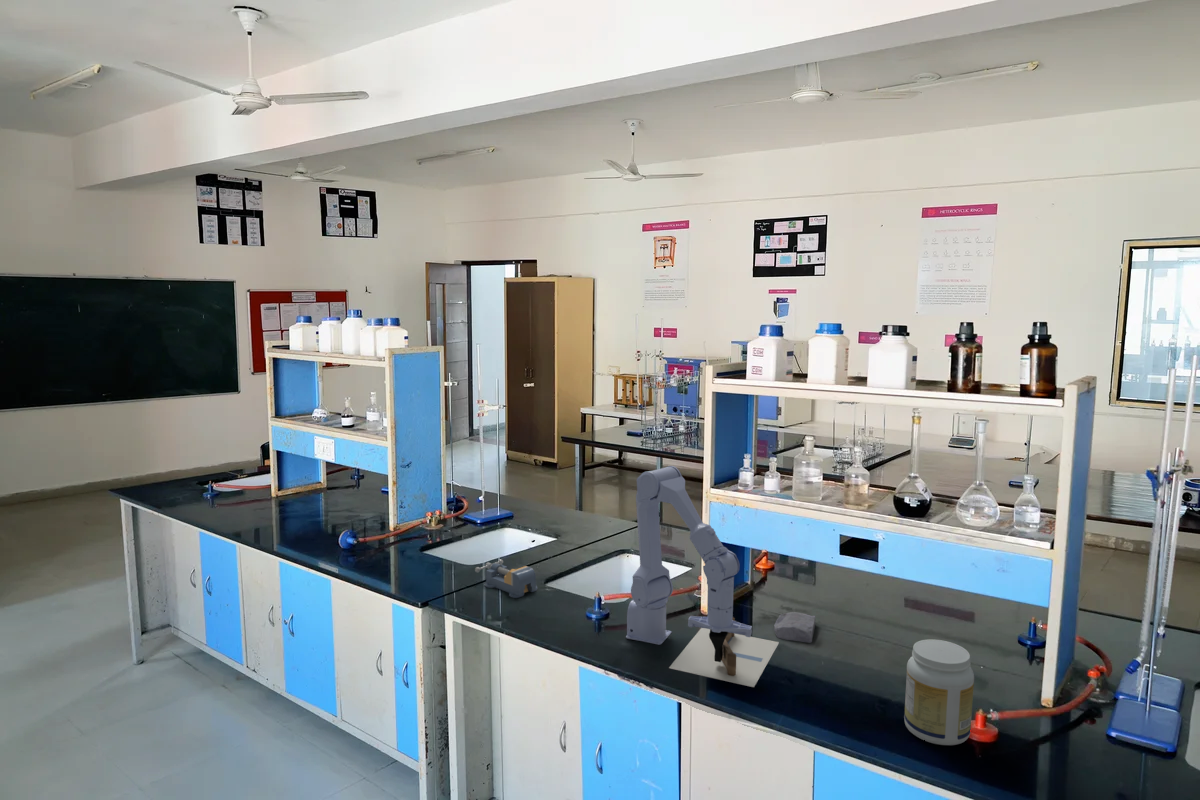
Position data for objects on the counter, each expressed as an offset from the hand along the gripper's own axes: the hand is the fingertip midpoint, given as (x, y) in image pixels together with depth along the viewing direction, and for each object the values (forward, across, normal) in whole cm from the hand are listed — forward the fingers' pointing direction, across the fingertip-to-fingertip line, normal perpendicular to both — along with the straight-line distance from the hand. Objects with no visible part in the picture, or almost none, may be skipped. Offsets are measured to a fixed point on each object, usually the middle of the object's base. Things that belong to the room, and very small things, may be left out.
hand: (718, 659), depth 180 cm
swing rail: (+1, +1, +2) cm, 3 cm away
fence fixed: (+1, -1, +12) cm, 12 cm away
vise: (+3, -70, +26) cm, 74 cm away
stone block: (+2, +14, +25) cm, 29 cm away
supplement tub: (+2, +46, -10) cm, 47 cm away
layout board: (+2, 0, +6) cm, 6 cm away
